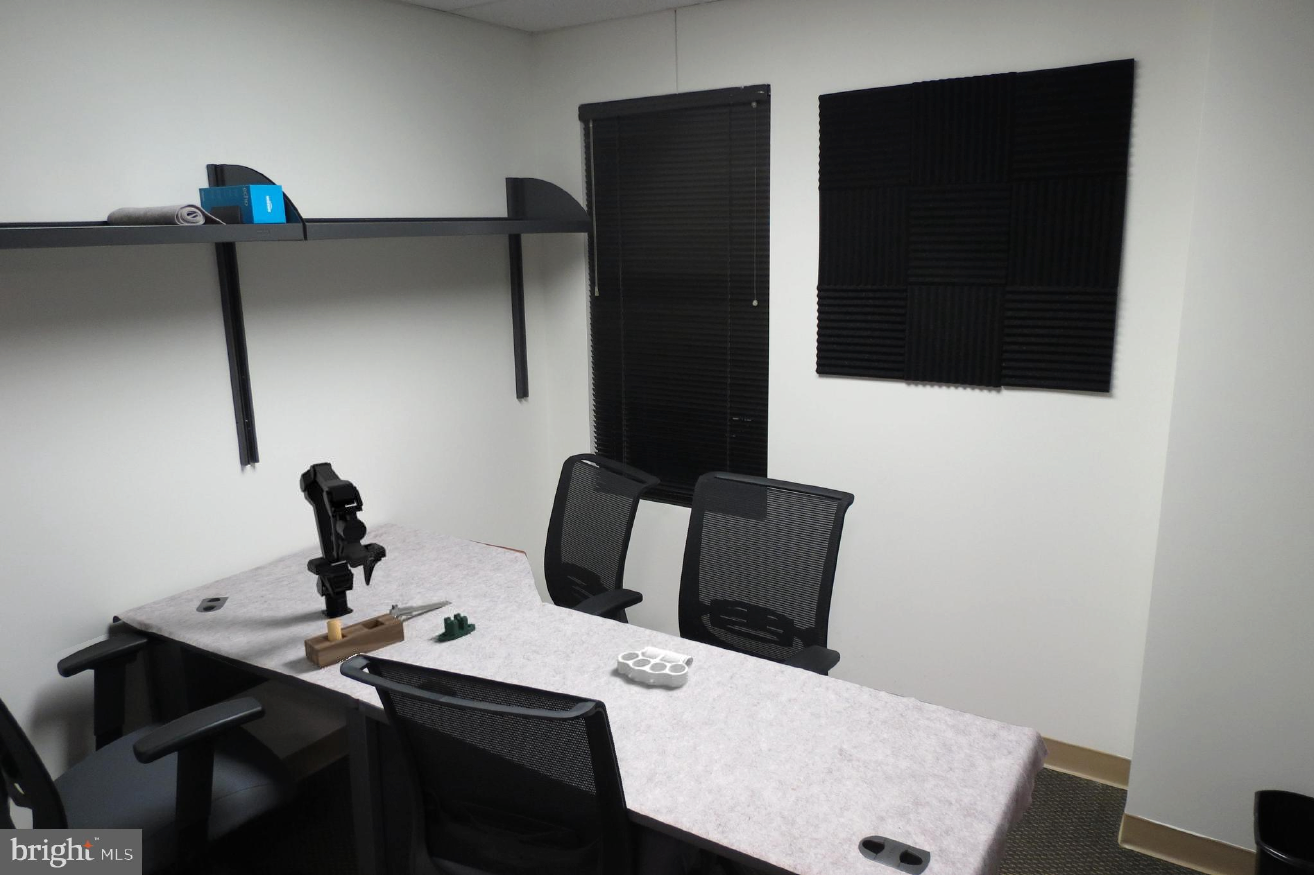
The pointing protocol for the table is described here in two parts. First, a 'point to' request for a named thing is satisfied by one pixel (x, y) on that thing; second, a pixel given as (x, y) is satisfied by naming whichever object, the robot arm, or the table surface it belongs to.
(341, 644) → the hole block
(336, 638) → the peg
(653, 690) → the table surface
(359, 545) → the robot arm
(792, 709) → the table surface
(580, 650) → the table surface
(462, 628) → the mount
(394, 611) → the caliper
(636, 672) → the white brass knuckles
